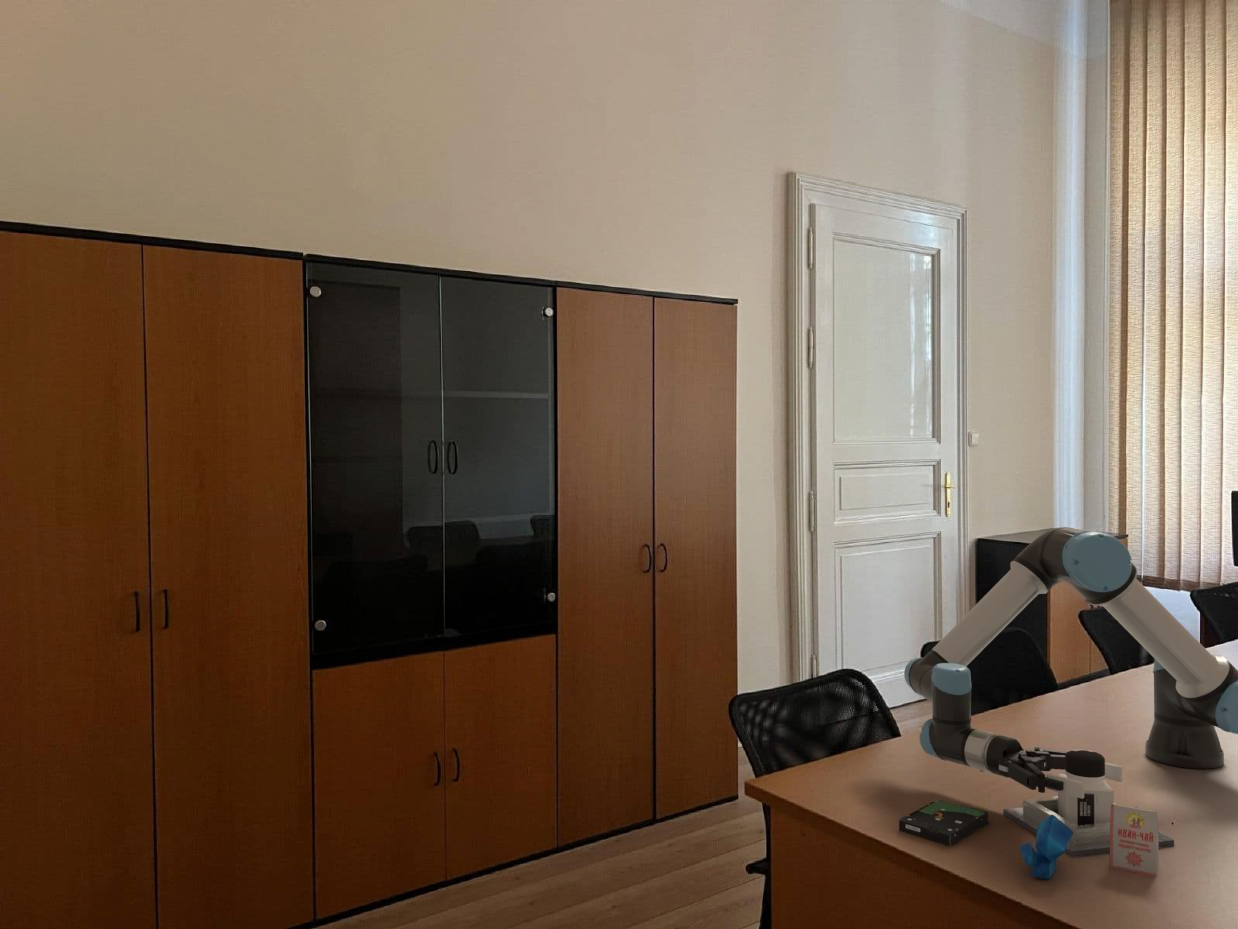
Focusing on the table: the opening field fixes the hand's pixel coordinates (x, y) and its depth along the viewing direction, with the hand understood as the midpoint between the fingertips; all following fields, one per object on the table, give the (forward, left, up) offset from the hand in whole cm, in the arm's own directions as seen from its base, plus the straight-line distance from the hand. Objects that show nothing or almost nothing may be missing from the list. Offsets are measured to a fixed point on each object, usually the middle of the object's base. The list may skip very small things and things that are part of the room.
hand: (1102, 782), depth 176 cm
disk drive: (+25, -10, -10) cm, 29 cm away
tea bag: (+4, +13, -10) cm, 17 cm away
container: (+1, -3, -9) cm, 9 cm away
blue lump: (+19, +11, -10) cm, 24 cm away
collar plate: (+1, -3, -9) cm, 10 cm away
